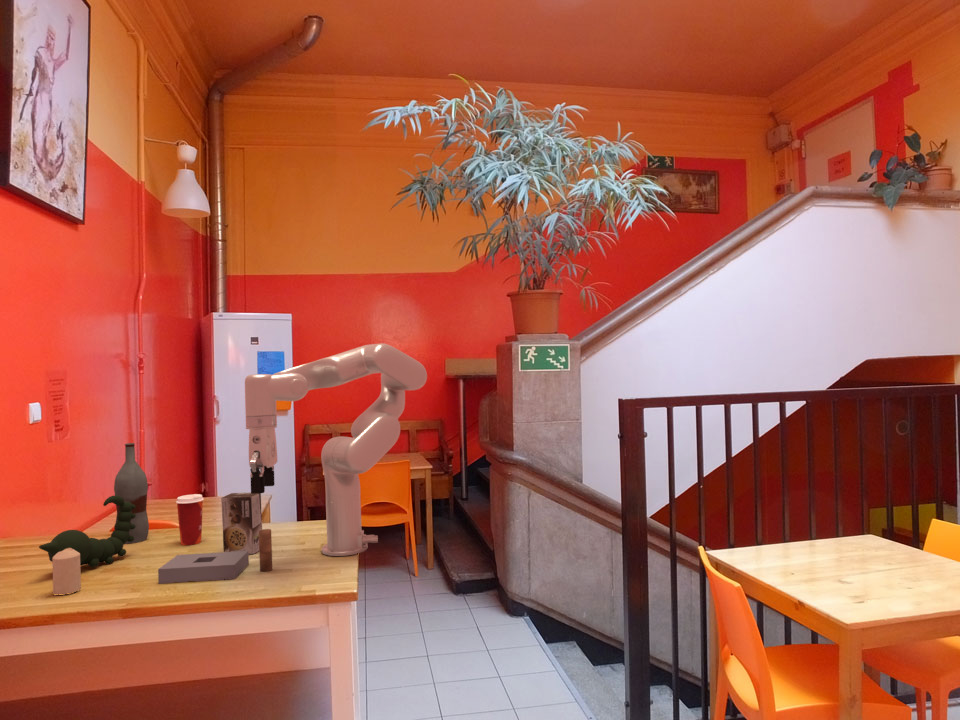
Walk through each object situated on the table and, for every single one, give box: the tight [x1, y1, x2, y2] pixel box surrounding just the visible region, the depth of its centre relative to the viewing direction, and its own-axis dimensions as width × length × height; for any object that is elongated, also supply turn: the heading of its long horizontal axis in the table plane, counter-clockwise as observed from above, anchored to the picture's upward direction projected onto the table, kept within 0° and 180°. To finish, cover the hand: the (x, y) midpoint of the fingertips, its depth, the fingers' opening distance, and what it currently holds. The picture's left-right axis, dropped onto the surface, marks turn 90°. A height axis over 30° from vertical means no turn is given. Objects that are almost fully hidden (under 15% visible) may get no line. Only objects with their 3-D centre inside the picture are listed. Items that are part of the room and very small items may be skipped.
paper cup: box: [175, 493, 205, 547], centre depth 192 cm, size 8×8×14 cm
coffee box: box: [220, 492, 263, 555], centre depth 180 cm, size 9×6×16 cm
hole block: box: [157, 551, 250, 584], centre depth 161 cm, size 18×12×4 cm, turn 95°
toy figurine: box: [38, 494, 136, 569], centre depth 170 cm, size 9×19×25 cm
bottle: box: [113, 442, 150, 545], centre depth 197 cm, size 9×9×30 cm
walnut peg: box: [258, 528, 273, 573], centre depth 162 cm, size 3×3×10 cm
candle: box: [51, 548, 82, 595], centre depth 151 cm, size 6×6×10 cm
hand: (263, 489), depth 163 cm, fingers open, 9 cm apart
